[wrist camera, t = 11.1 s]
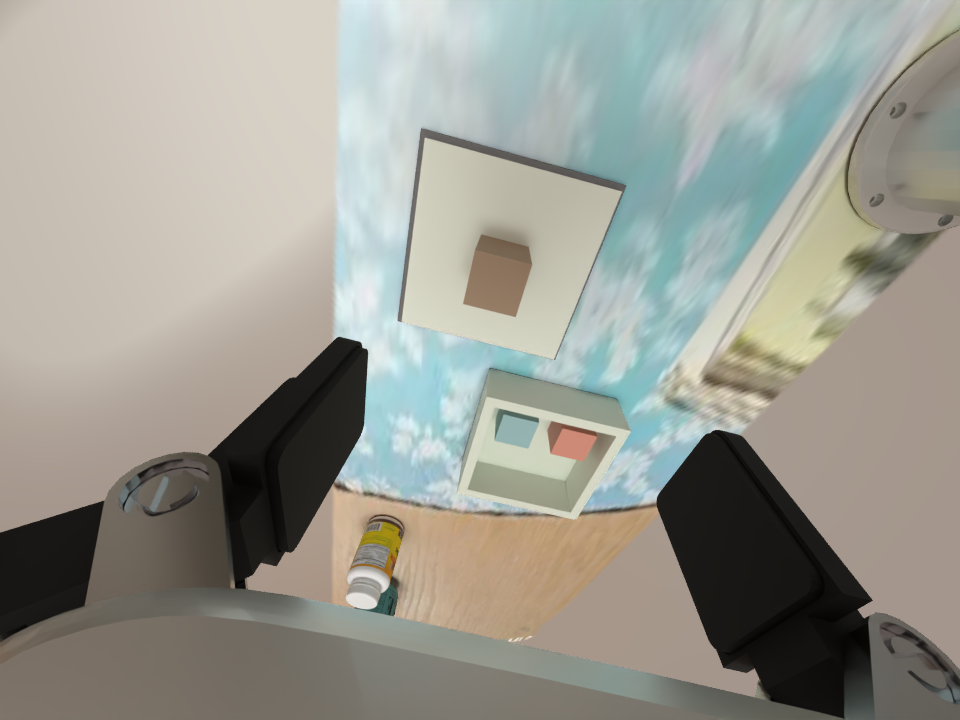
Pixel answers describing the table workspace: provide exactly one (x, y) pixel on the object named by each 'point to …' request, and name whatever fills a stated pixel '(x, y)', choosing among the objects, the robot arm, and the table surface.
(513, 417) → the teal block
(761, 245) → the table surface
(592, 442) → the red block
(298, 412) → the robot arm
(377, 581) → the supplement bottle
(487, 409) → the box
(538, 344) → the lid
